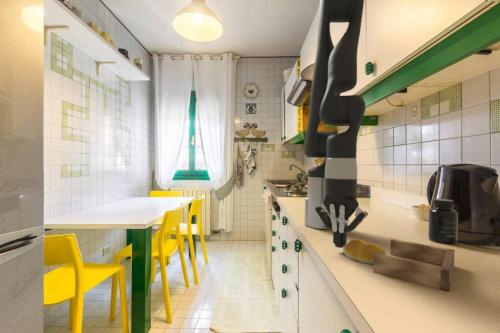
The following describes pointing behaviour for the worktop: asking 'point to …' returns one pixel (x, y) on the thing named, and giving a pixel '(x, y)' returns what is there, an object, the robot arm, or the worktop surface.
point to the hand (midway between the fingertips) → (339, 246)
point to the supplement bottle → (443, 222)
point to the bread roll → (362, 251)
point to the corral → (417, 264)
